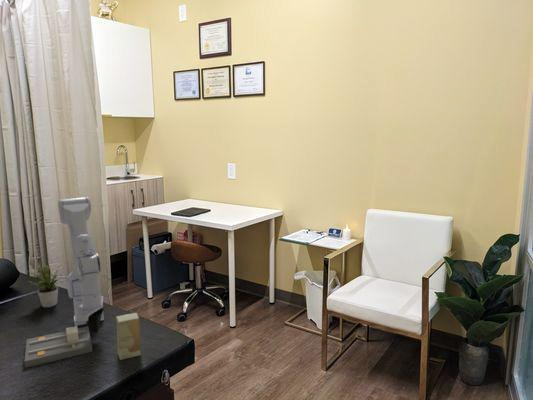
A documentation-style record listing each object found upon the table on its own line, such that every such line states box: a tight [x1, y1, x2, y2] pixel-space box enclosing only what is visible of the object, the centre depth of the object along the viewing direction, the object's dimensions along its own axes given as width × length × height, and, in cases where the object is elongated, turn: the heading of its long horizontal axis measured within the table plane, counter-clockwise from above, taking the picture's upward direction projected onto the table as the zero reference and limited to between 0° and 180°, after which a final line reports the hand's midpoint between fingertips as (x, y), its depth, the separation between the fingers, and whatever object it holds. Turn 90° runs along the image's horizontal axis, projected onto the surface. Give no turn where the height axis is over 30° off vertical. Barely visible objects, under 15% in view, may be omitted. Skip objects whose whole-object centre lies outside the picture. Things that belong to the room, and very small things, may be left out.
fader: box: [65, 325, 79, 343], centre depth 130 cm, size 3×4×3 cm
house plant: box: [27, 264, 64, 308], centre depth 159 cm, size 14×14×16 cm
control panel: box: [24, 325, 93, 369], centre depth 128 cm, size 18×14×3 cm
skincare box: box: [115, 312, 142, 361], centre depth 124 cm, size 6×4×12 cm
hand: (94, 331), depth 133 cm, fingers closed
